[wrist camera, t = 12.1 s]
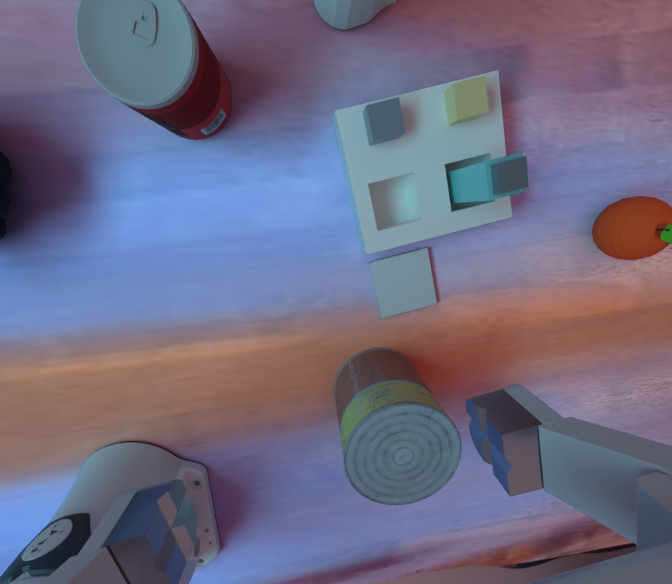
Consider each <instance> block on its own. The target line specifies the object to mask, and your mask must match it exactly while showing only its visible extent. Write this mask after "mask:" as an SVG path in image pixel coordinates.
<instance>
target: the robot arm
mask: <svg viewBox="0 0 672 584" xmlns="http://www.w3.org/2000/svg"><path fill="white" fill-rule="evenodd" d="M466 411H467V413H468V414H469V416H470V417H471V418H472V420H471V422H470V424H469V429H470V434H471V437H472V440H473V443H474V446H475V447H476V449H477V451H478V453H479V455H480V456H481V457H482V459H483V460H484V461H485V462H487V463H489V464H491V465H493V472H494V475H495V477H496V478H497V480H498V481H499V482H500V484H501V485H502V486H503V488H504V489H505V490H506V492H507V493H508V494H509V496H510V497H511V496H515V495H519V494H523V493H527V492H531V491H535V490H539V489H543V488H544V490H545V491H547V492H548V493H550V494H552V495H553V496H555V497H557V498H559V499H560V500H562V501H564V502H565V503H567V504H569V505H571V506H572V507H574V508H576V509H577V510H579V511H581V512H582V513H584V514H586V515H588V516H589V517H591V518H593V519H594V520H596V521H598V522H600V523H601V524H603V525H605V526H606V527H608V528H610V529H611V530H613V531H615V532H617V533H618V534H620V535H622V536H623V537H625V538H627V539H629V540H630V541H632V542H634V543H635V544H637V552H633V553H630V554H627V555H623V556H620V557H616V558H613V559H609V560H606V561H603V562H599V563H596V564H593V565H589V566H586V567H582V568H579V569H576V570H572V571H569V572H565V573H562V574H559V575H555V576H552V577H548V578H545V579H542V580H538V581H535V582H531V583H528V584H672V446H669V445H665V444H662V443H658V442H655V441H651V440H648V439H645V438H641V437H638V436H634V435H631V434H627V433H624V432H620V431H617V430H614V429H610V428H607V427H603V426H600V425H596V424H593V423H589V422H586V421H583V420H579V419H576V418H572V417H568V418H563V417H562V416H561V415H559V414H558V413H557V412H556V411H554V410H553V409H552V408H550V407H549V406H548V405H547V404H545V403H544V402H543V401H541V400H540V399H539V398H538V397H536V396H535V395H534V394H532V393H531V392H530V391H528V390H527V389H526V388H525V387H523V386H522V385H519V384H515V385H512V386H509V387H505V388H502V389H500V390H497V391H494V392H490V393H487V394H483V395H480V396H476V397H472V398H469V399H466ZM198 481H199V482H198ZM219 550H220V541H219V535H218V530H217V524H216V519H215V513H214V508H213V502H212V497H211V491H210V486H209V480H208V475H207V470H206V468H205V467H204V466H203V465H201V464H198V463H195V462H190V461H185V460H182V459H179V458H178V457H176V456H174V455H173V454H171V453H169V452H167V451H166V450H163V449H161V448H159V447H156V446H153V445H149V444H144V443H119V444H114V445H111V446H108V447H105V448H103V449H101V450H99V451H97V452H96V453H94V454H93V455H91V456H90V457H89V458H88V459H87V460H86V461H85V463H84V464H83V466H82V467H81V469H80V471H79V473H78V476H77V478H76V480H75V482H74V483H73V485H72V487H71V489H70V491H69V492H68V494H67V496H66V497H65V499H64V500H63V502H62V504H61V505H60V507H59V508H58V510H57V511H56V513H55V514H54V516H53V517H52V519H51V520H50V522H49V523H48V524H47V526H46V527H45V528H44V529H43V530H42V531H41V532H40V533H39V534H38V535H37V536H36V537H35V538H34V539H33V540H32V541H31V542H30V543H29V544H28V545H27V546H26V547H25V548H24V549H23V550H22V552H21V553H20V554H19V555H18V556H17V557H16V559H15V560H14V561H13V562H12V563H11V565H10V566H9V567H8V568H7V569H6V571H5V572H4V573H3V574H2V576H1V577H0V584H189V582H190V580H191V578H192V576H193V573H194V571H195V570H198V569H200V568H202V567H203V566H205V565H207V564H208V563H210V562H211V561H212V560H213V559H214V558H215V557H216V556H217V555H218V553H219Z"/></svg>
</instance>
